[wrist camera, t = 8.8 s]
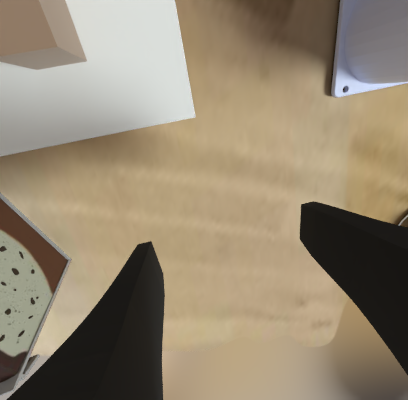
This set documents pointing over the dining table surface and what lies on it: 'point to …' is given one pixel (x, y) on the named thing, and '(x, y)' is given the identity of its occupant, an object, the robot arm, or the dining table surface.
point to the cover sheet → (88, 70)
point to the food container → (24, 290)
